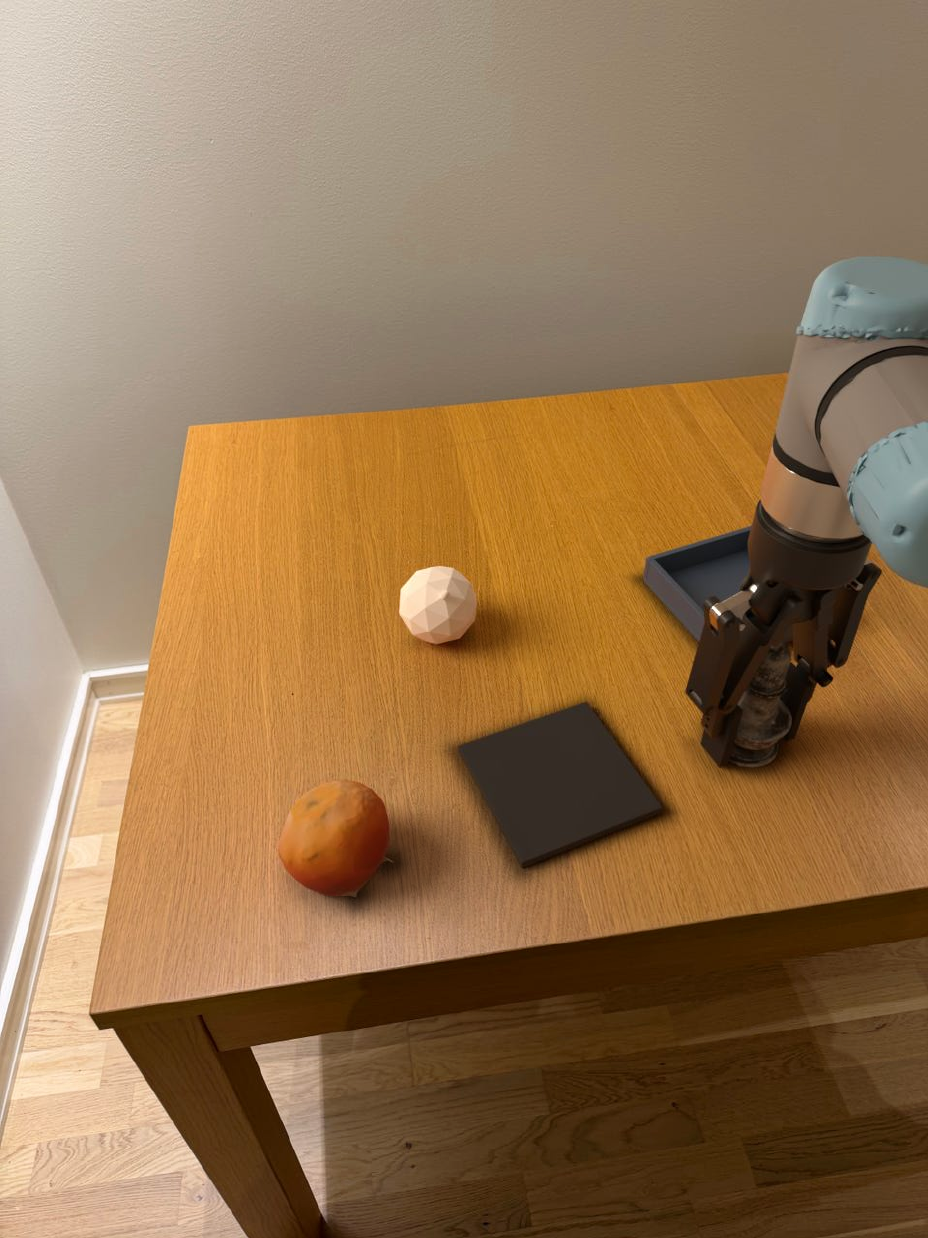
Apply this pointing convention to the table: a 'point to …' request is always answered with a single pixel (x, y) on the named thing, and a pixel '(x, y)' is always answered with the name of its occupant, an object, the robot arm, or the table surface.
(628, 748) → the table surface
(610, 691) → the table surface
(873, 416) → the robot arm
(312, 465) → the table surface
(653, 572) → the tray
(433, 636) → the ornament
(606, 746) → the mat
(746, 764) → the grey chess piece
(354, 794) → the fruit
